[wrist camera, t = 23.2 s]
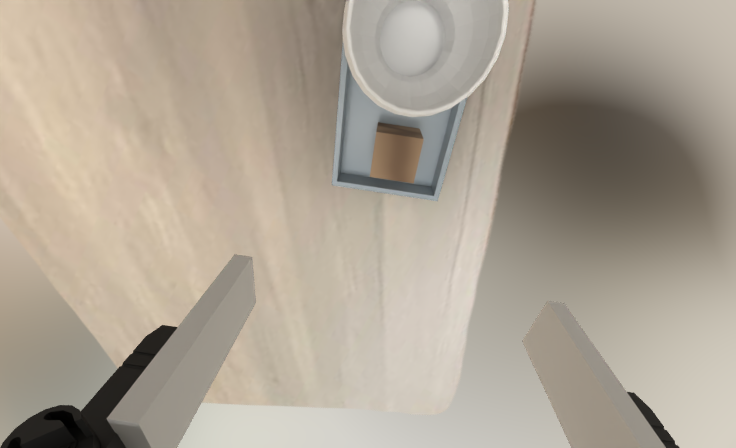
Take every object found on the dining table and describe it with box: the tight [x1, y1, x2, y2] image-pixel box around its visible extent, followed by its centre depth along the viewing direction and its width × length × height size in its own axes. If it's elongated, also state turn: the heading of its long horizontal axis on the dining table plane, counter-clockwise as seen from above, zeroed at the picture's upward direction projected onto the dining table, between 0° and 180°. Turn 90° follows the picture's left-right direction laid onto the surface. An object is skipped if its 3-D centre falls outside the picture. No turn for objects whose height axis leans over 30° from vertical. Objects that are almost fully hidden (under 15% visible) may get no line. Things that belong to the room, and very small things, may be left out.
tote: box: [332, 43, 467, 201], centre depth 32 cm, size 21×13×4 cm, turn 172°
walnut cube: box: [370, 122, 424, 183], centre depth 34 cm, size 5×5×5 cm
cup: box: [342, 0, 509, 117], centre depth 24 cm, size 11×11×15 cm
